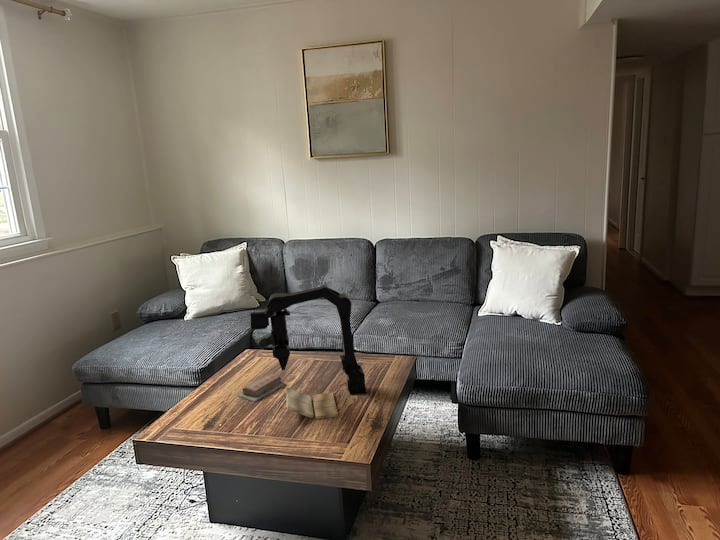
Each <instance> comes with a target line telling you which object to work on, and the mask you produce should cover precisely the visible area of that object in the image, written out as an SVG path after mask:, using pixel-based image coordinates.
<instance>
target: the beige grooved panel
mask: <svg viewBox="0 0 720 540" xmlns="http://www.w3.org/2000/svg"><path fill="white" fill-rule="evenodd" d="M285 399H286V400H285V401H286V402H285V403H286V409H287V410H288V411H291V412H294V413H297V414H300V415H302V416H305V417H307V418H310V419H313V417H314V415H315V413H314V407H313V400H312V395H308V394H305V393H303V392H300V391H297V390H295V389H293V388H290V387H286V389H285Z"/></svg>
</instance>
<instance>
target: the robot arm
mask: <svg viewBox="0 0 720 540" xmlns="http://www.w3.org/2000/svg"><path fill="white" fill-rule="evenodd" d="M322 298H324V299H325V300H327V301H328V302H330V303H331V304H332V305H333V306H335V308H336V311H337V314H338V317H339V321H340V329H341V331H340V332H341V338H342V339H341V340H342V347H343V349H342V350H343V354H342V355H339V358H340V366H341V367H340V368H341V370H342V371H344V373H345V375H346V376H347V379H346V385H347V386H346V387H347V391H348V392H349V395H359V394H360V395H361V394H366V393H367V389H366V379H365V377H366V375H365V372H364V370H363V367H362V366H361V365H360V364H359V363H358V361H357V358H356V356H355V352H354V343H353V335H352V328H351V327H352V325H351V315H352V301H351V299H350V297H349V295H347V294H346V293H340V292H338V291H336V290H334V289H332V288H330V287H329V286H328V285H325V284H324V285H320V286H317V287H313V288H308V289H305V290H299V291H296V292H293V293H292V292H290V293H288V292H279V293H278V292H277V293H276V292H275V293H273V294H271V295H270V297H269V299H268V304H267V306H266V307H265V308H264V311H263V310H262V311H252V312H250V329H251V331H259V330H260V331H261V330H267V329H268V327H269V326H271V327H270V328H271V330H270V333H269V332H268V333H267V334H265V335H263V336H261V337H258V339H257V344H258V346H259V348H260V350H263V349H265V348H267V347H269V346H273V348H272V357H273V358H274V359H277V360H278V362H279V366H280V369H281V371H285V370H286V367H287V364H288V361H289V358H290V355H291V353H290V351H291V350H290V345H289V344H290V339H289V334H288V327H287V318H286V316H287V317H288V316H290V315H291V311H290V310H288V308H290V307H291V306H293V305H298V304H301V303H305V302H310V301H314V300H315V301H316V300H318V299H322ZM269 318H270V319H269Z"/></svg>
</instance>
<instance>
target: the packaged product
mask: <svg viewBox="0 0 720 540" xmlns="http://www.w3.org/2000/svg"><path fill="white" fill-rule="evenodd" d="M285 385H286V382H283V381H282V378H281V376H280V375H279V374H277V373H276V374H275V373H272V372H269V373H268V374H265V375H264V376H262V377H260V378H258V379H256V380H254V381H253V382H251V383H249V384H247V385H245V386H244V387H242V391H241V392H240V393H237V398H239V399H242V400H245V401H249V402H253V403H256V402H258V401H260V399H262V398H265V397H266V396H268V395H270V394H272V393H273V392H275V391H276V390H279V389H280V388H281V387H284V386H285Z"/></svg>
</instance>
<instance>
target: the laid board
mask: <svg viewBox="0 0 720 540" xmlns="http://www.w3.org/2000/svg"><path fill="white" fill-rule="evenodd" d="M311 399H312V405H313V411H314V415H315V420H322V419H329V418H337V417H339V413H338V409H337V405H336V401H335V397H334V394H333V392H325V393H317V394H312V395H311Z"/></svg>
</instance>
